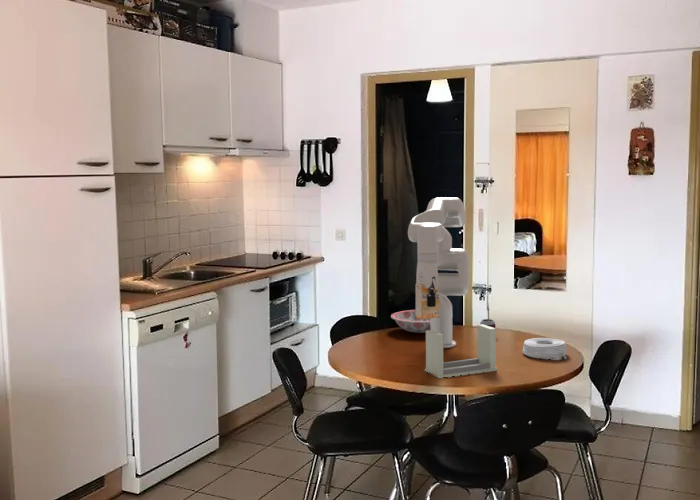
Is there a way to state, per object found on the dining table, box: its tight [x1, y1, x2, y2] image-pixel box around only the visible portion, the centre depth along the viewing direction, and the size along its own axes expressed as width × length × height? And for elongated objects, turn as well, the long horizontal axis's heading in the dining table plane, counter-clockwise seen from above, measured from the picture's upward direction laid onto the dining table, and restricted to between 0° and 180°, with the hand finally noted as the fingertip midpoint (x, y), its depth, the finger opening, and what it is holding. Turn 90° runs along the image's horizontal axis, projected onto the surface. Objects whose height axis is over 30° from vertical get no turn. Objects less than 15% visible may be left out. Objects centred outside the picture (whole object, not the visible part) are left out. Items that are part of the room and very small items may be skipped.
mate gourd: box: [479, 302, 497, 328], centre depth 330 cm, size 8×8×15 cm
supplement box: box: [415, 283, 440, 319], centre depth 275 cm, size 8×5×13 cm, turn 111°
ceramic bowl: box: [390, 309, 454, 334], centre depth 344 cm, size 29×29×8 cm
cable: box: [521, 337, 568, 361], centre depth 296 cm, size 18×18×6 cm
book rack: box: [424, 323, 498, 379], centre depth 274 cm, size 11×25×16 cm, turn 112°
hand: (428, 304), depth 275 cm, fingers closed on supplement box, 4 cm apart
